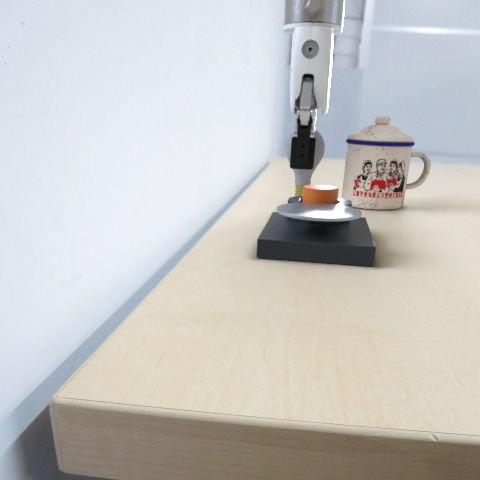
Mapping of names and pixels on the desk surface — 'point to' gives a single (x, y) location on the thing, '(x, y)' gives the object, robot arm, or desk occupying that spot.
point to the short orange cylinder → (320, 194)
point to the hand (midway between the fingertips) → (302, 165)
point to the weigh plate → (319, 211)
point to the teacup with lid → (380, 166)
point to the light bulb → (302, 174)
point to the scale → (317, 239)
